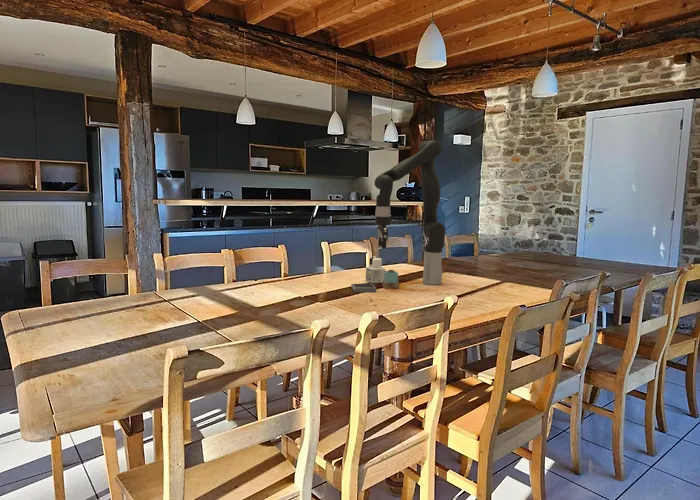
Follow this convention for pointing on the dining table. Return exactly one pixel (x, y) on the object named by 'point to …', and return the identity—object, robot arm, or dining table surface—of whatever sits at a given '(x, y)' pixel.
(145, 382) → the dining table surface
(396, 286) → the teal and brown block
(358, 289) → the charcoal tray
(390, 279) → the teal collar
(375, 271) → the container
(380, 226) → the robot arm
